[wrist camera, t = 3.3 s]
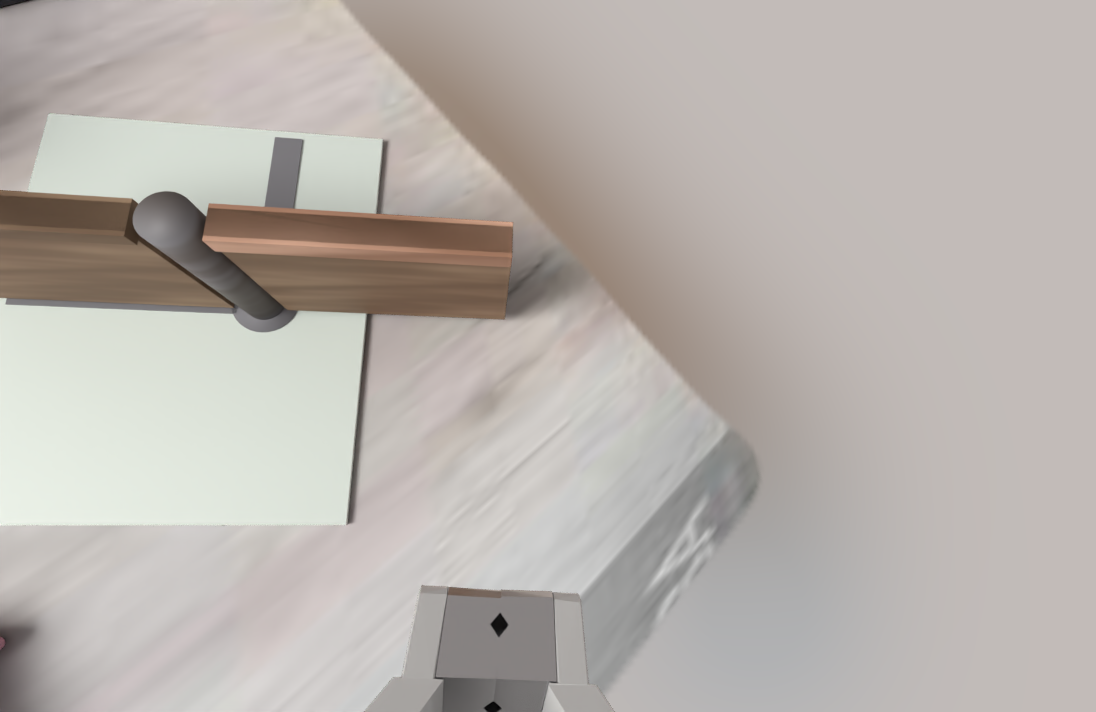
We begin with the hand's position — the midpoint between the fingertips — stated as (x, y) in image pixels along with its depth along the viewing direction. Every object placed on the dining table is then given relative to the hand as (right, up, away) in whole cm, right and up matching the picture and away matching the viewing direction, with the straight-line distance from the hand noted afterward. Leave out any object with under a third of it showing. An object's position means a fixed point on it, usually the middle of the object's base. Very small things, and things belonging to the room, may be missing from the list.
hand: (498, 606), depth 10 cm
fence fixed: (-21, +8, +19) cm, 29 cm away
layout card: (-19, +7, +19) cm, 28 cm away
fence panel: (-8, +8, +20) cm, 22 cm away
